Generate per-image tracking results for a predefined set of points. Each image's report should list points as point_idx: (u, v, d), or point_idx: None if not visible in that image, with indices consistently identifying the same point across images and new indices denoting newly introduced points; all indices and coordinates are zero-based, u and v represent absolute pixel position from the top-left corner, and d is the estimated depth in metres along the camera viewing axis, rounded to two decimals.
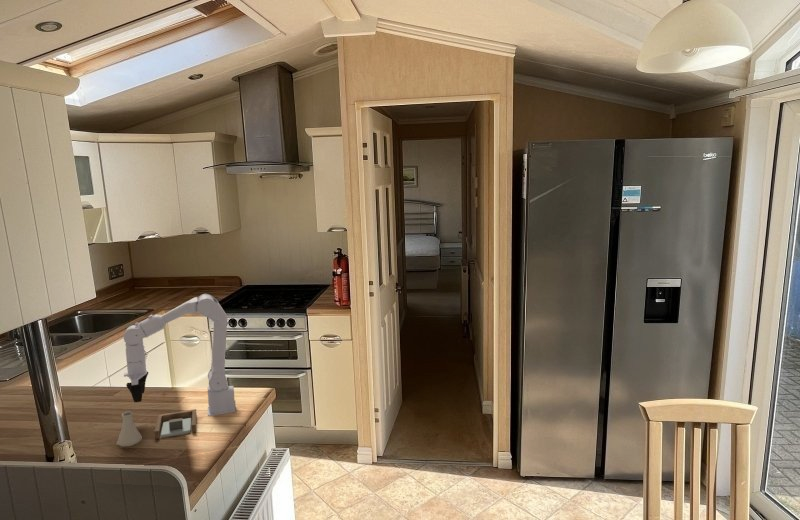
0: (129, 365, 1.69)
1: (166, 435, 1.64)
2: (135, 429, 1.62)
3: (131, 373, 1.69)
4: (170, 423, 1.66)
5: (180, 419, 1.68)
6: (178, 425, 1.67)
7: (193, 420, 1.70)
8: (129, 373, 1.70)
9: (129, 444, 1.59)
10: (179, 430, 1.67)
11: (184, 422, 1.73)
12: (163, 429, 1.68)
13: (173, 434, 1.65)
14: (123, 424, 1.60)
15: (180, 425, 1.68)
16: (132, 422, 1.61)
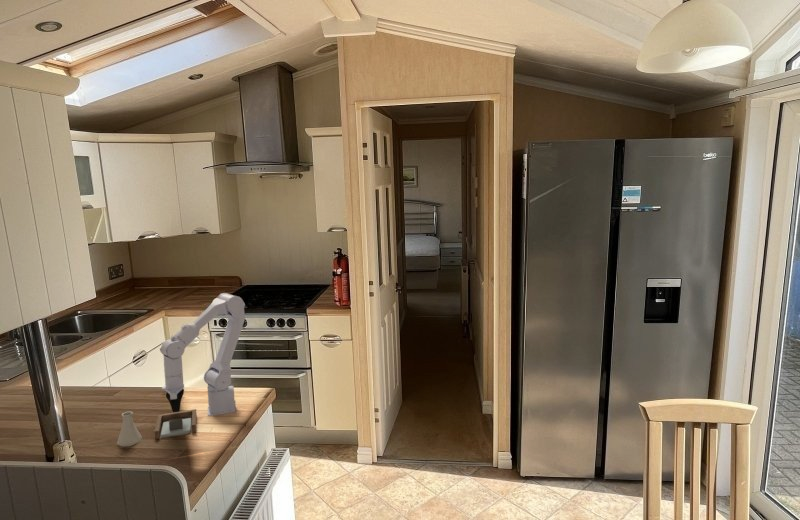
0: (167, 379, 1.69)
1: (166, 435, 1.64)
2: (135, 429, 1.62)
3: (169, 387, 1.69)
4: (170, 423, 1.66)
5: (180, 419, 1.68)
6: (178, 425, 1.67)
7: (193, 420, 1.70)
8: (167, 387, 1.69)
9: (129, 444, 1.59)
10: (179, 430, 1.67)
11: (184, 422, 1.73)
12: (163, 429, 1.68)
13: (173, 434, 1.65)
14: (123, 424, 1.60)
15: (180, 425, 1.68)
16: (132, 422, 1.61)
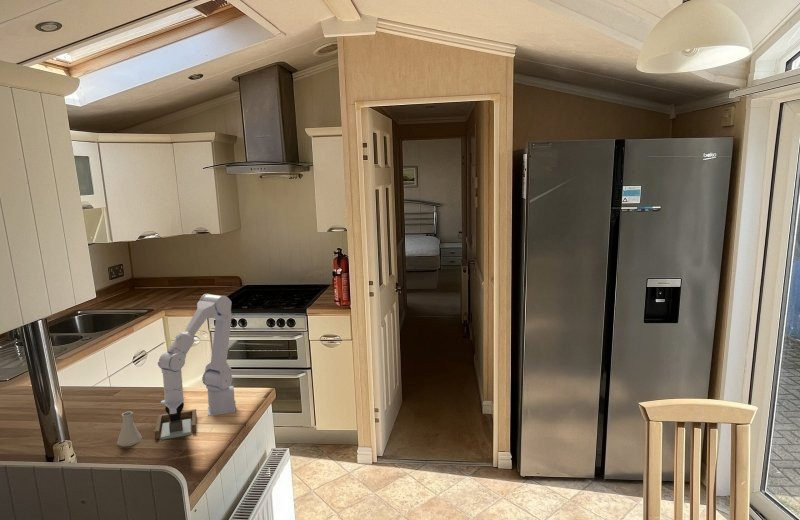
0: (167, 393, 1.64)
1: (166, 437, 1.63)
2: (135, 429, 1.62)
3: (168, 401, 1.64)
4: (170, 425, 1.65)
5: (180, 421, 1.67)
6: (178, 427, 1.66)
7: (193, 420, 1.70)
8: (166, 401, 1.64)
9: (129, 444, 1.59)
10: (179, 432, 1.66)
11: (184, 423, 1.71)
12: (163, 431, 1.66)
13: (173, 435, 1.64)
14: (123, 424, 1.60)
15: (180, 427, 1.66)
16: (132, 422, 1.61)
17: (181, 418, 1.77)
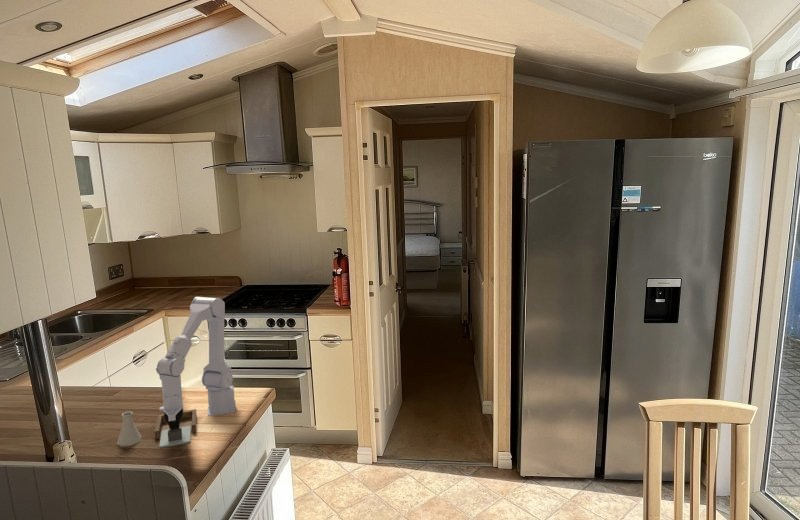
0: (165, 399, 1.59)
1: (165, 446, 1.58)
2: (135, 429, 1.62)
3: (167, 407, 1.59)
4: (169, 434, 1.60)
5: (179, 429, 1.62)
6: (177, 436, 1.61)
7: (193, 420, 1.70)
8: (165, 407, 1.59)
9: (129, 444, 1.59)
10: (178, 441, 1.60)
11: (183, 431, 1.66)
12: (162, 439, 1.61)
13: (172, 445, 1.59)
14: (123, 424, 1.60)
15: (179, 435, 1.61)
16: (132, 422, 1.61)
17: (181, 418, 1.77)
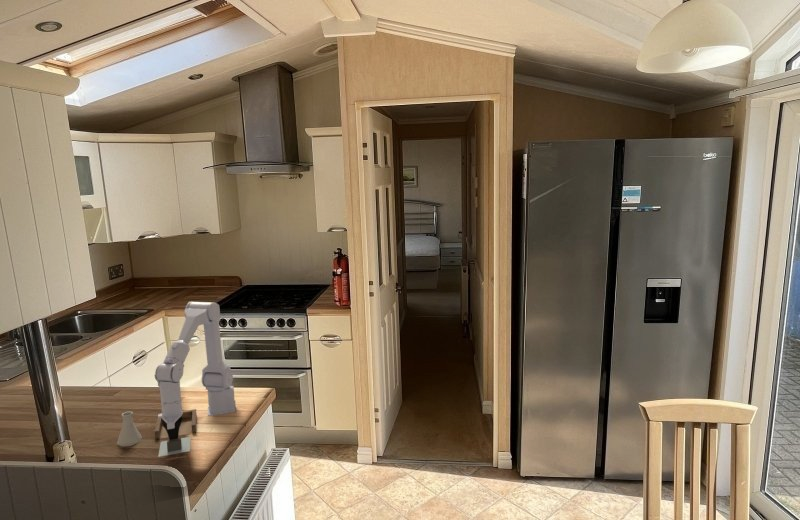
0: (164, 406, 1.54)
1: None
2: (135, 429, 1.62)
3: (166, 415, 1.54)
4: (168, 444, 1.55)
5: (179, 439, 1.57)
6: (176, 446, 1.56)
7: (193, 420, 1.70)
8: (164, 415, 1.54)
9: (129, 444, 1.59)
10: (178, 451, 1.55)
11: (183, 442, 1.61)
12: (160, 450, 1.56)
13: None
14: (123, 424, 1.60)
15: (179, 446, 1.56)
16: (132, 422, 1.61)
17: None
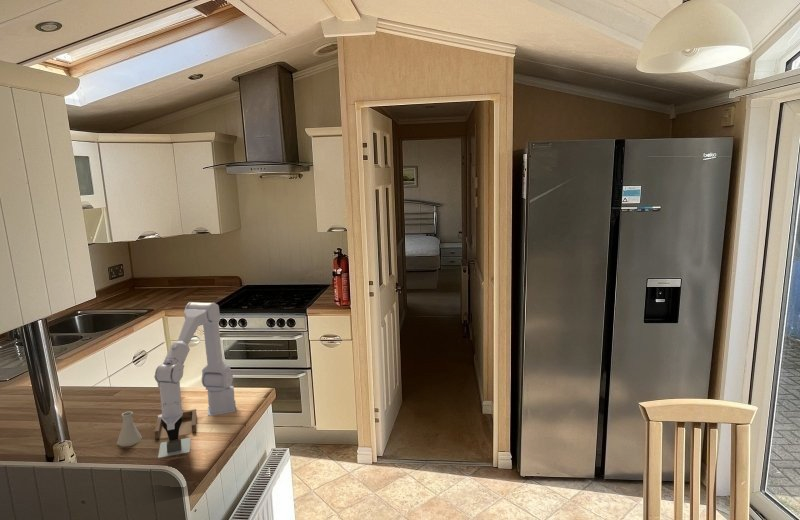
0: (164, 407, 1.53)
1: None
2: (135, 429, 1.62)
3: (166, 416, 1.53)
4: (168, 444, 1.54)
5: (179, 440, 1.56)
6: (176, 447, 1.55)
7: (193, 420, 1.70)
8: (164, 415, 1.54)
9: (129, 444, 1.59)
10: (178, 452, 1.55)
11: (183, 443, 1.60)
12: (160, 451, 1.55)
13: None
14: (123, 424, 1.60)
15: (179, 446, 1.55)
16: (132, 422, 1.61)
17: None
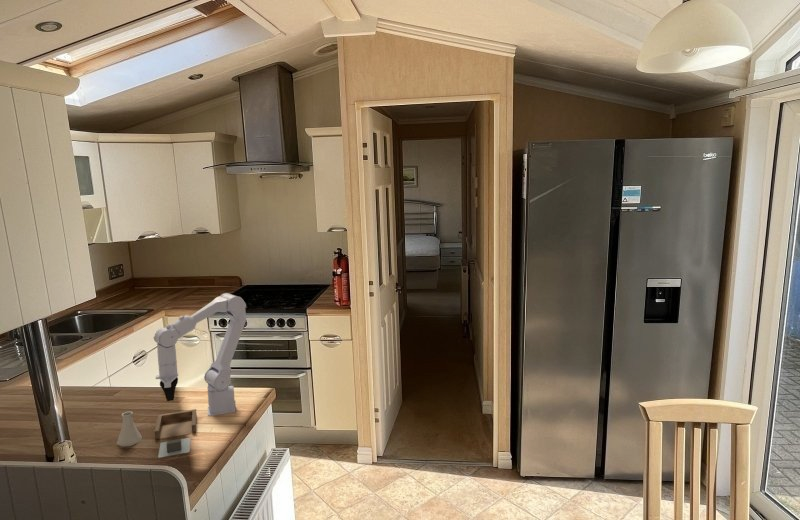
0: (161, 367, 1.68)
1: None
2: (135, 429, 1.62)
3: (163, 376, 1.68)
4: (168, 445, 1.54)
5: (179, 440, 1.56)
6: (176, 447, 1.55)
7: (193, 420, 1.70)
8: (161, 376, 1.68)
9: (129, 444, 1.59)
10: (178, 452, 1.55)
11: (183, 443, 1.60)
12: (160, 451, 1.55)
13: None
14: (123, 424, 1.60)
15: (179, 447, 1.55)
16: (132, 422, 1.61)
17: (181, 418, 1.77)
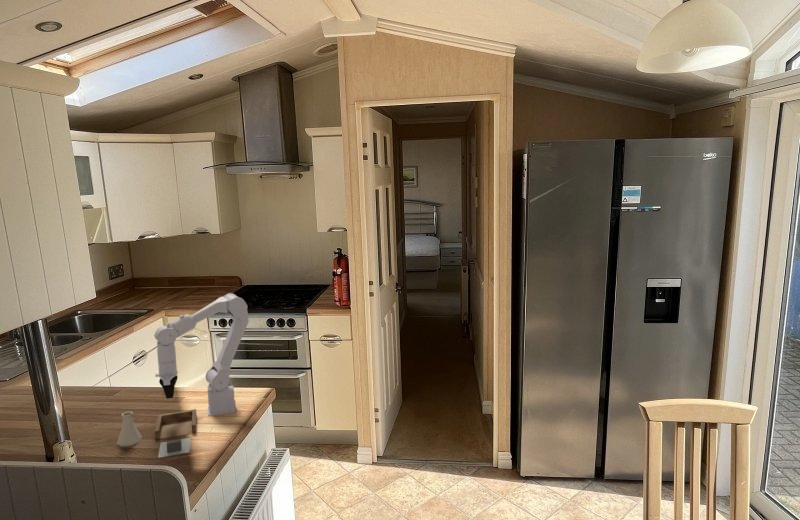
0: (161, 365, 1.70)
1: None
2: (135, 429, 1.62)
3: (162, 373, 1.70)
4: (168, 444, 1.54)
5: (179, 440, 1.56)
6: (176, 447, 1.55)
7: (193, 420, 1.70)
8: (160, 373, 1.70)
9: (129, 444, 1.59)
10: (178, 452, 1.55)
11: (183, 443, 1.60)
12: (160, 451, 1.55)
13: None
14: (123, 424, 1.60)
15: (179, 447, 1.55)
16: (132, 422, 1.61)
17: (181, 418, 1.77)
